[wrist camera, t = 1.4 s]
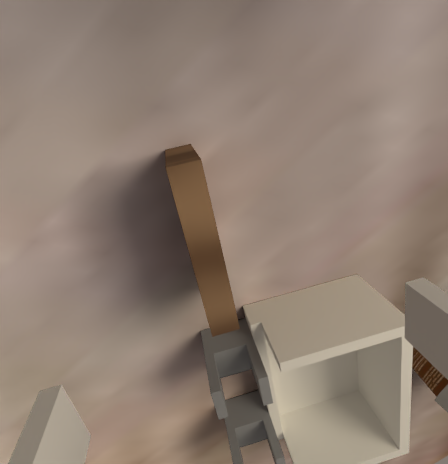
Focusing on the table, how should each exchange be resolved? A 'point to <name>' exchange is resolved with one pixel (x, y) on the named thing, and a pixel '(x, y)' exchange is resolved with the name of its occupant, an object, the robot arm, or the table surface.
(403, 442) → the carcass
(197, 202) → the door
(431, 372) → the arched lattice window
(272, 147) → the table surface
